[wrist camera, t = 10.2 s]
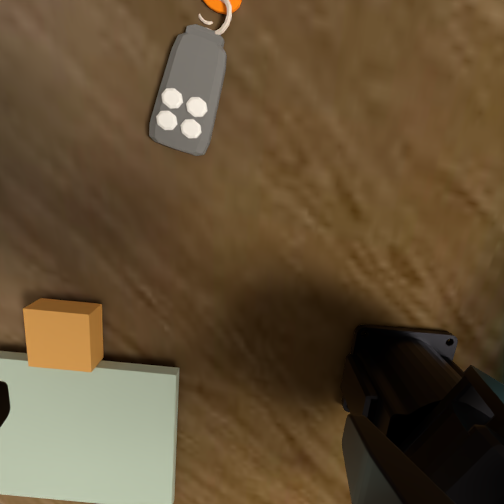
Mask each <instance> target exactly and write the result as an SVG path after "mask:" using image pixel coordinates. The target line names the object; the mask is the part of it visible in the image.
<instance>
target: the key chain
mask: <svg viewBox="0 0 504 504" xmlns="http://www.w3.org/2000/svg"><path fill="white" fill-rule="evenodd" d="M203 1H204V2H205V3H206V5H207V6H208V7H209V8H210V9H212V10H214V11H215V12H217V13H221V14H227V16H226V19H225V22H224V23H223V25H222V26H221V28H219V29H218V30H216V31H213V30H211V29H208V28H205V27H202V26H199V25H197V24H195V25H190V26H187V28H186V33H183V34H180V35H178V36H177V38H176V41H175V43H174V45H173V47H172V49H171V53H170V56H169V59H168V62H167V66H166V69H165V72H164V76H163V79H162V82H161V86H160V89H159V92H158V96H157V99H156V103H155V106H154V109H153V113H152V116H151V120H150V125H149V136H150V137H151V138H152V139H153V140H154V141H155V142H157V143H160V144H162V145H165V146H168V147H170V148H173V149H176V150H179V151H182V152H185V153H189V154H192V155H195V156H200V155H205V153H206V151H207V148H208V146H209V144H210V140H211V136H212V131H213V127H214V122H215V118H216V113H217V109H218V104H219V99H220V94H221V90H222V85H223V80H224V75H225V71H226V57H227V55H226V52H225V51H224V49H223V46H224V39H223V38H222V37H221V34H222V33H224V32H225V30H226V29H227V28H228V26H229V24H230V21H231V17H232V13H234V12H235V11H236V10H237V9H238V8H239V7H240V4H241V2H242V0H203ZM199 18H200V20H201V21H202V22H203V23H204V24H207V25H211V24H212V23H213V22H212V21H206V20H204V19H203V18H202V17H201V14H199Z"/></svg>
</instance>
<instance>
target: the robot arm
mask: <svg viewBox="0 0 504 504" xmlns="http://www.w3.org/2000/svg"><path fill="white" fill-rule="evenodd" d="M363 331H367V332H366V334H364V335H361V332H363ZM448 339H450V340H449V341H448V342H446V341H447V340H448ZM457 341H458V340H457V338H456V337H455V336H454V335H452V334H451V333H449V332H440V331H429V330H418V329H408V328H397V327H386V326H375V325H359V326H358V327H357V328H356V330H355V334H354V339H353V344H352V349H351V354H349V355H348V356H347V357H346V361H345V367H344V372H343V377H342V383H341V390H342V393H343V396H342V406H343V408H344V410H345V411H347V412H350V414H349V415H348V416H347V418H346V423H345V428H344V433H343V438H342V449H343V455H344V461H345V466H346V472H347V478H348V484H349V489H350V495H351V501H352V504H504V385H503V384H502V383H500V382H498V381H497V380H495V379H493V378H492V377H490V376H488V375H487V374H485V373H484V372H482V371H480V370H479V369H477V368H475V367H474V366H472V365H470V366H469V367H468V368H467V369H466V370H465V372H463V371H462V370H461V369H460V368H459V367H458V366H457V365H456V364H455V363H454V362H453V361H452V360H453V357H454V353H455V350H456V346H457ZM10 408H11V407H10V398H9V390H8V385H7V383H6V382H4V381H0V427H1V426H2V425H3V423H4V422H5V420H6V419H7V417H8V415H9V412H10Z"/></svg>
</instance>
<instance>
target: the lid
mask: <svg viewBox="0 0 504 504" xmlns="http://www.w3.org/2000/svg"><path fill="white" fill-rule="evenodd" d="M23 315H24V325H25V335H26V346H27V353H19V352H8V351H0V381H4V382H6V383H7V385H8V390H9V398H10V407H11V408H10V412H9V415H8V417H7V419H6V420H5V422H4V423H3V425H2V426H1V427H0V494H4V495H15V496H25V497H36V498H47V499H57V500H68V501H78V502H89V503H100V504H173V502H174V493H175V467H176V442H177V417H178V392H179V368H177V367H166V366H156V365H145V364H134V363H124V362H113V361H103V360H102V359H103V358H104V357H103V323H102V304H97V303H87V302H76V301H66V300H55V299H45V298H40V299H39V300H37V301H35V302H33V303H32V304H30V305H28V306H26V307H25V308H23Z"/></svg>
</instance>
